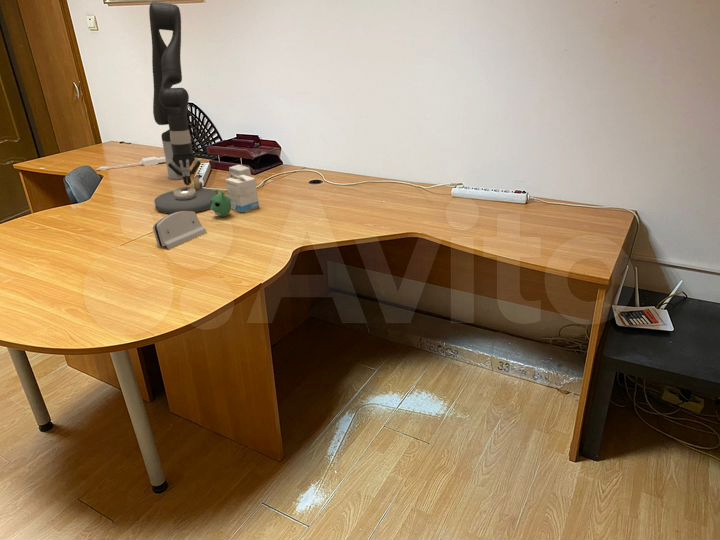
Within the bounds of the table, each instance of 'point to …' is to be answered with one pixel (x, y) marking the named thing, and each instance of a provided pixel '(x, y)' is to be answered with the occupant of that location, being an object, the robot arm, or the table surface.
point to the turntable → (197, 204)
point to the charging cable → (144, 161)
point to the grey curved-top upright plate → (178, 229)
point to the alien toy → (220, 204)
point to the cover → (184, 193)
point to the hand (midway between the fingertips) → (187, 184)
